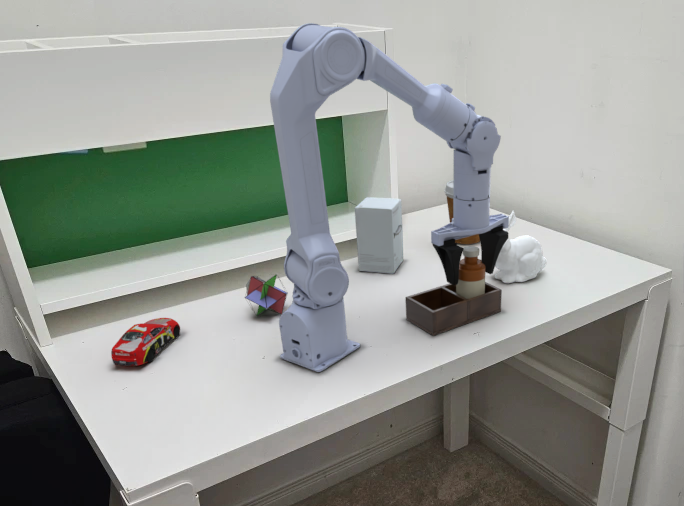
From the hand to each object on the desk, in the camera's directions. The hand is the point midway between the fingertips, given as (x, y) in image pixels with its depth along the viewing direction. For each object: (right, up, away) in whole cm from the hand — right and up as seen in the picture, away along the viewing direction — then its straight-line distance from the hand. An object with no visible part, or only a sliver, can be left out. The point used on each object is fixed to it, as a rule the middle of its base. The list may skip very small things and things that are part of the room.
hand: (470, 277), depth 109 cm
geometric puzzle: (-34, -6, +2) cm, 35 cm away
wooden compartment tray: (-3, -6, +1) cm, 7 cm away
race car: (-49, -12, -8) cm, 52 cm away
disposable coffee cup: (0, +13, +33) cm, 36 cm away
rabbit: (+8, +2, +16) cm, 18 cm away
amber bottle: (0, -4, +3) cm, 5 cm away
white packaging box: (-17, +5, +20) cm, 27 cm away
